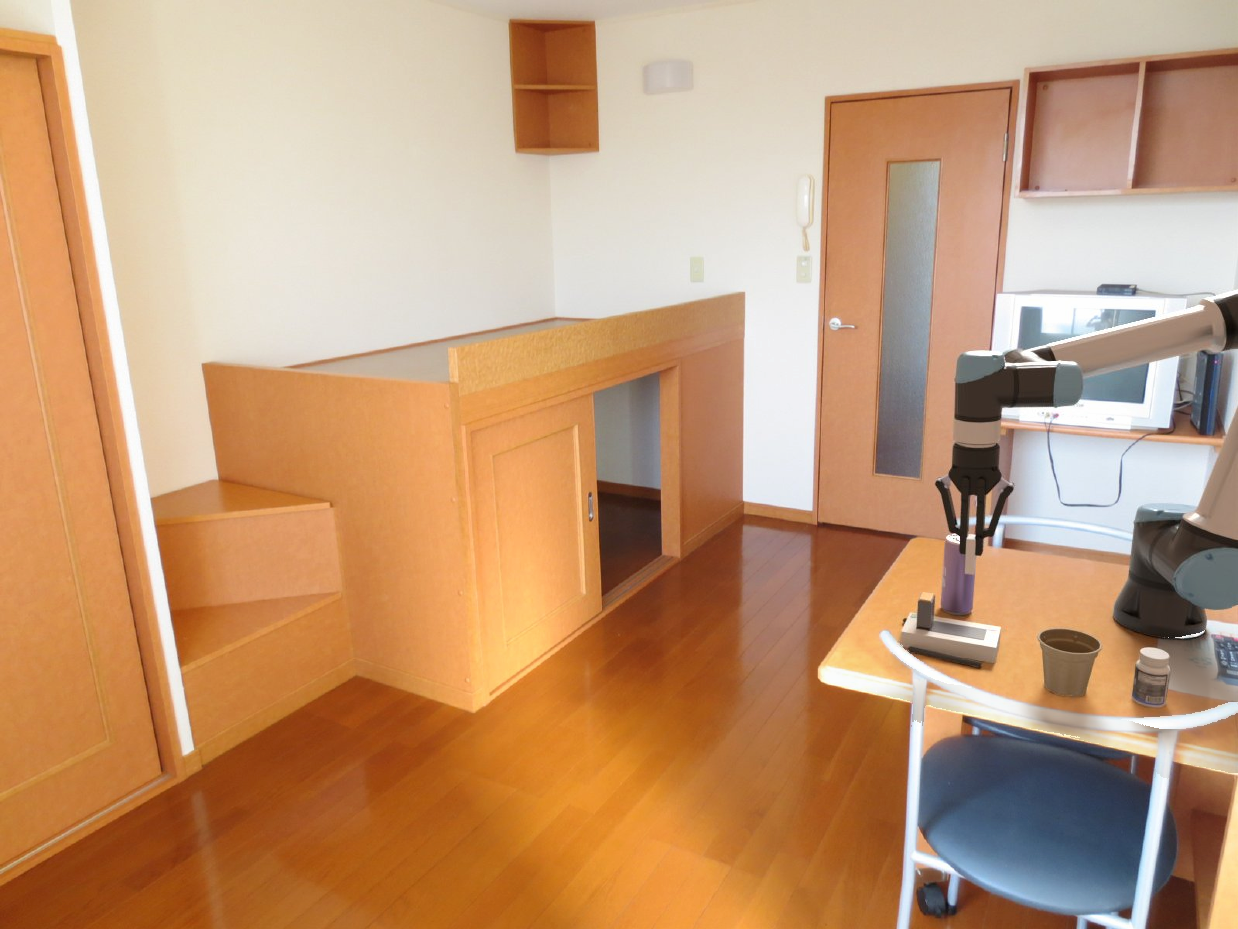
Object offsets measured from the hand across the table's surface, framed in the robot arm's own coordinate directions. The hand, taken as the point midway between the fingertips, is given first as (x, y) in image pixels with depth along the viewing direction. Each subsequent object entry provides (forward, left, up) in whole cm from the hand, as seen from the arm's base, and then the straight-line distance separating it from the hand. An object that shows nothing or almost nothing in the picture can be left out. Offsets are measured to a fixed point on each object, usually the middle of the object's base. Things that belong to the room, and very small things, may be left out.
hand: (970, 571), depth 157 cm
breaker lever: (+7, 0, -11) cm, 13 cm away
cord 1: (+3, +7, -15) cm, 16 cm away
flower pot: (-16, +9, -15) cm, 24 cm away
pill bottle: (-28, +8, -15) cm, 33 cm away
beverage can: (+4, -16, -15) cm, 22 cm away
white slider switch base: (+3, 0, -15) cm, 15 cm away
